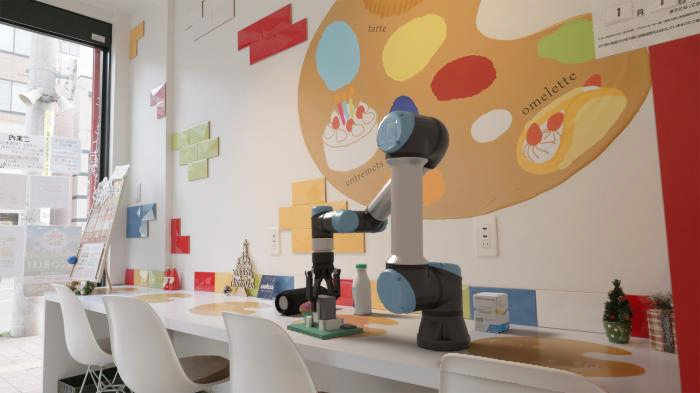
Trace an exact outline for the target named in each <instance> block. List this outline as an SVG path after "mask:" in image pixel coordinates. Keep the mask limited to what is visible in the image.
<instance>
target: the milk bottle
mask: <svg viewBox="0 0 700 393" xmlns="http://www.w3.org/2000/svg"><path fill="white" fill-rule="evenodd" d="M367 266H368V265H367V263H357V264H355V275H354V278H353V280H352V288H351V289H352V290H351V291H352V292H351V294H352V299H351V300H352V314H354V315H359V316H364V315H371V314H372V311H373V310H372V308H373V306H372V285H371V284H372V283H371V280H370V277H369V275H368V273H367V270H368V269H367V268H368V267H367Z"/></svg>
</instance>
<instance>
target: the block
mask: <svg viewBox="0 0 700 393" xmlns="http://www.w3.org/2000/svg"><path fill="white" fill-rule="evenodd" d="M317 302H319V304H320V320H324V321H325V320H331V319H336V318H337V300H336V297H333V296H327V295H318V300H317ZM312 326H314V327H318V328H319V323H317V322H313V312H312Z"/></svg>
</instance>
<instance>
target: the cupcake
mask: <svg viewBox="0 0 700 393" xmlns="http://www.w3.org/2000/svg"><path fill="white" fill-rule="evenodd" d="M300 312H301V314H302V317H303V320H304V321H305V317H307V316H312V311H311V302H310V301H309V302H306V303H304V304H302V305H301V306H300Z"/></svg>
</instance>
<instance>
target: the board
mask: <svg viewBox="0 0 700 393" xmlns="http://www.w3.org/2000/svg"><path fill="white" fill-rule="evenodd" d="M344 322H345V321H344V317H340V316H338V317H337V316H336V319H331V320H325V321H324V320H319V328H318V327H314V326H312V316H307V317H305V320H304V322H299V323H292V324H286V325H287V326H286V329H287V330H290V331H293V332H297V333H300V334H303V335H307V336H308V337H309V336H310V337H313V338H317V339H320V340H328V339H331V338H333V339H334V338H337V337H342V336H348V335H352V334H353V335H354V334H361V333H363V332H364V328H363V327H360V326H359V327H358V326H357V325H355V324H352V323H344Z"/></svg>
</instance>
